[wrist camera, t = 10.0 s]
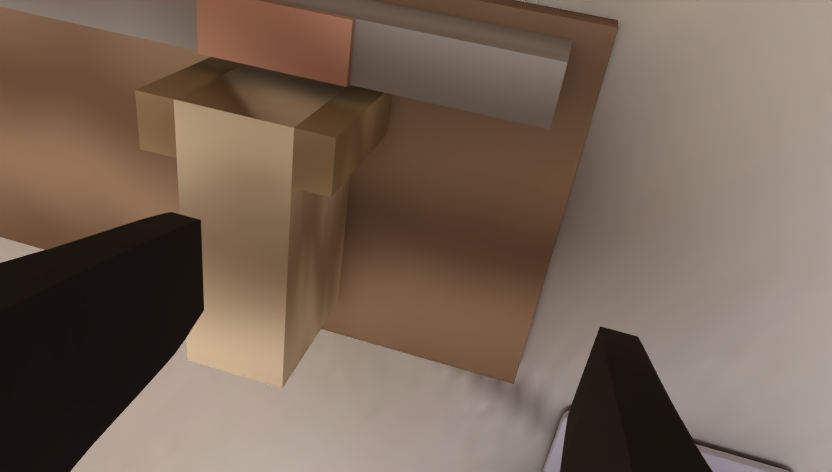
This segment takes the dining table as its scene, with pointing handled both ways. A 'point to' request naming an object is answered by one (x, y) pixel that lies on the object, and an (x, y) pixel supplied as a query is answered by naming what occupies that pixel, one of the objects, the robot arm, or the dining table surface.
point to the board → (373, 179)
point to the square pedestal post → (262, 201)
